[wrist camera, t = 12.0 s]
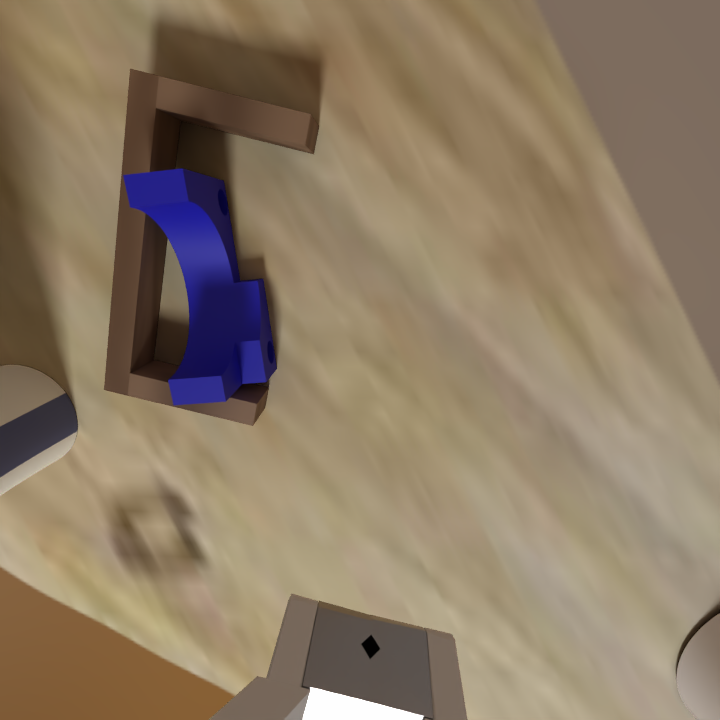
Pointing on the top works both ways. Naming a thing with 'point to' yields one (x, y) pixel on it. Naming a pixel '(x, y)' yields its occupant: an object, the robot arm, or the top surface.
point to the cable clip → (208, 286)
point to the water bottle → (32, 423)
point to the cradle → (148, 241)
